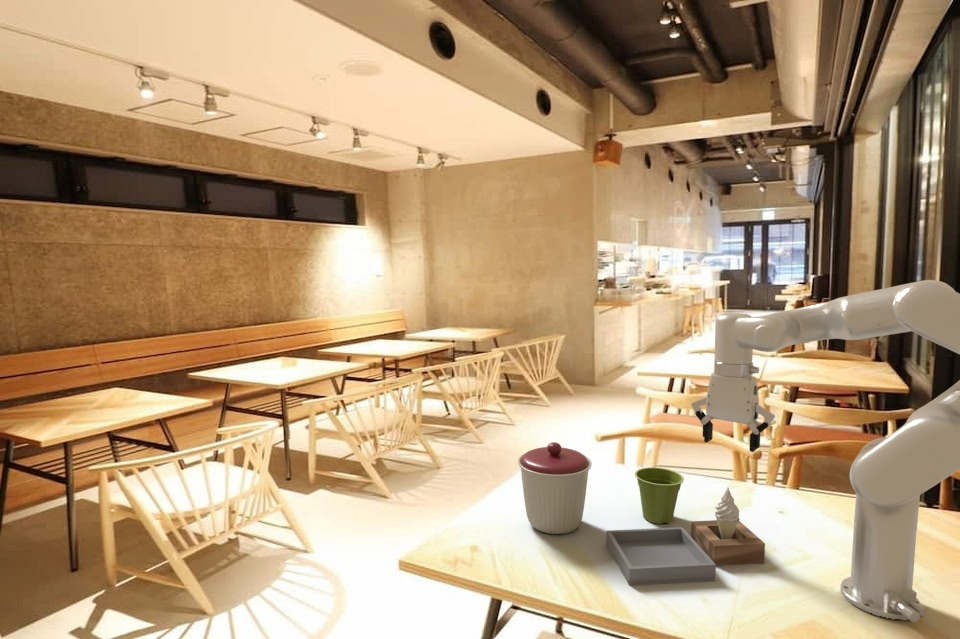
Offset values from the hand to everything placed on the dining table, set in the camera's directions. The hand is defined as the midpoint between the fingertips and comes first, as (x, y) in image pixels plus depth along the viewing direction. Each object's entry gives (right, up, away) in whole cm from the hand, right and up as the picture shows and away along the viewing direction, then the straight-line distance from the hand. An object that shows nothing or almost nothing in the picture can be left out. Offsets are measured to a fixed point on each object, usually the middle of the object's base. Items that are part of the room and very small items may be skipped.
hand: (730, 445), depth 123 cm
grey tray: (-17, -25, -2) cm, 30 cm away
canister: (-37, -24, +16) cm, 47 cm away
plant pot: (-10, -23, +18) cm, 31 cm away
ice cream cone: (0, -25, +2) cm, 25 cm away
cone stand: (0, -24, +2) cm, 24 cm away
